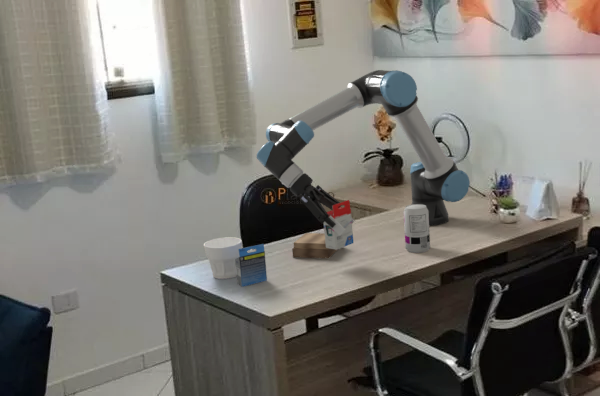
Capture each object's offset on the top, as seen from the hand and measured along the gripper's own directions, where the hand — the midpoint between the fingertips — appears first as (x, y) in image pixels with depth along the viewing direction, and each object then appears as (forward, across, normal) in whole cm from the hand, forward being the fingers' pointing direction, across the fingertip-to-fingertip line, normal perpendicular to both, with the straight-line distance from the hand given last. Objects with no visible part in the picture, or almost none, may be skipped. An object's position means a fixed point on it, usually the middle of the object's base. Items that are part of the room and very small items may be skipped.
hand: (347, 228), depth 259 cm
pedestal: (-3, -13, -20) cm, 24 cm away
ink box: (+2, 0, -7) cm, 7 cm away
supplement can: (+22, -19, +3) cm, 29 cm away
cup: (-18, +14, -36) cm, 42 cm away
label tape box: (-10, +20, -27) cm, 35 cm away
